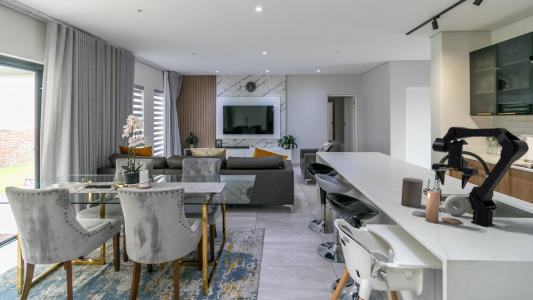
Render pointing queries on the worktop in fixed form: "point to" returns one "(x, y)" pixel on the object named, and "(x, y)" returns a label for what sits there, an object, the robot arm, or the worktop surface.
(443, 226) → the worktop surface
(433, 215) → the post
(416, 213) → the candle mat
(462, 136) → the robot arm
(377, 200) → the worktop surface
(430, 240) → the worktop surface
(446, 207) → the donut
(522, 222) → the worktop surface
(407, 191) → the pillar candle
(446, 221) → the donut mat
